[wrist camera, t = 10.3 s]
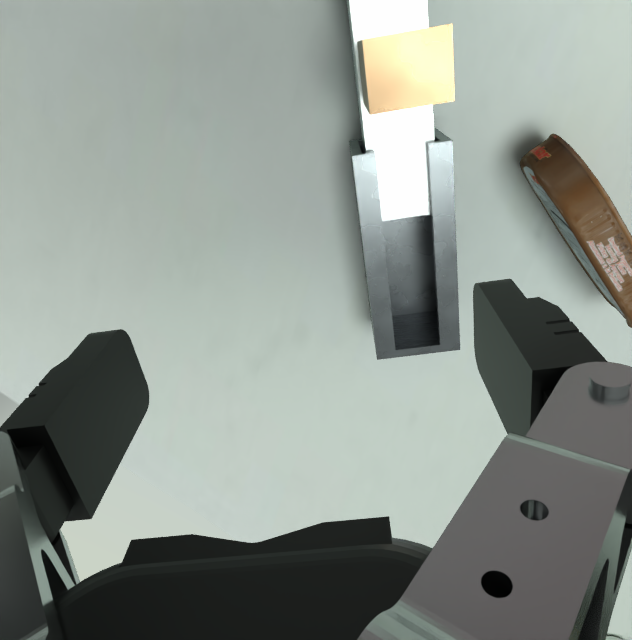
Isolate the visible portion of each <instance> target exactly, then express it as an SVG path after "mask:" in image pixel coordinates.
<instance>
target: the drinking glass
mask: <svg viewBox="0 0 632 640" xmlns="http://www.w3.org/2000/svg"><path fill="white" fill-rule="evenodd" d="M606 640H622V639H620V638H618V637H614V636H606Z"/></svg>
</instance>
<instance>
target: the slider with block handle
mask: <svg viewBox="0 0 632 640" xmlns="http://www.w3.org/2000/svg"><path fill="white" fill-rule="evenodd" d="M347 8H348V17H349V26H350V34H351V43H352V52H353V61H354V70H355V79H356V88H357V97H358V105H359V114H360V123H361V132H362V141H363V150H364V153H365V152H371V151H375V155H376V165H377V175H378V185H379V194H380V204H381V214H382V221H387V220H394V219H401V218H408V217H415V216H422V215H429V214H431V202H430V185H429V168H428V151H427V143H428V142H434V122H433V105H434V104H440V103H446V102H452V101H455V87H454V57H453V27H452V24H447V25H441V26H436V27H430V28H429V26H428V7H427V0H347Z"/></svg>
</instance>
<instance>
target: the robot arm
mask: <svg viewBox="0 0 632 640" xmlns="http://www.w3.org/2000/svg"><path fill="white" fill-rule="evenodd" d="M473 309H474V348H475V357H476V362H477V366H478V370H479V373H480V375H481V377H482V379H483V382H484V384H485V386H486V388H487V390H488V392H489V395H490V397H491V399H492V401H493V403H494V405H495V408H496V410H497V412H498V414H499V416H500V418H501V421H502V423H503V425H504V427H505V429H506V432H507V434H508V435H507V436H506V437H505V438H504V439H503V441H502V442H501V444H500V445H499V447H498V449H497V450H496V452H495V453H494V455H493V456H492V458H491V459H490V461H489V462H488V464H487V466H486V467H485V469H484V470H483V472H482V473H481V475H480V476H479V478H478V479H477V481H476V483H475V484H474V486H473V487H472V489H471V490H470V492H469V493H468V495H467V496H466V498H465V500H464V501H463V503H462V504H461V506H460V507H459V509H458V510H457V512H456V513H455V515H454V517H453V518H452V520H451V521H450V523H449V524H448V526H447V527H446V529H445V530H444V532H443V534H442V535H441V537H440V538H439V540H438V541H437V543H436V544H435V546H434V547H433V548H430V547H428V546H425V545H422V544H419V543H415V542H411V541H408V540H403V539H397V538H392V536H391V528H390V521H389V517H379V518H368V519H357V520H346V521H335V522H324V523H320V524H317V525H314V526H310V527H307V528H304V529H301V530H297V531H294V532H291V533H288V534H284V535H281V536H278V537H275V538H272V539H268V540H265V541H262V542H257V543H246V542H240V541H233V540H226V539H220V538H213V537H206V536H199V535H193V534H191V535H181V536H169V537H158V538H147V539H136V540H131V542H130V545H129V547H128V549H127V552H126V554H125V557H124V559H123V562H122V563H119V564H117V565H114V566H111V567H109V568H107V569H104V570H102V571H100V572H98V573H96V574H94V575H92V576H90V577H88V578H87V579H84V580H83V581H81V582H80V580H79V577H78V574H77V571H76V568H75V565H74V563H73V559H72V556H71V554H70V551H69V548H68V545H67V542H66V540H65V538H64V536H63V534H62V532H61V530H60V528H61V527H62V525H63V523H64V521H75V520H85V519H91V518H92V517H93V515H94V513H95V511H96V509H97V507H98V505H99V503H100V501H101V499H102V497H103V495H104V493H105V491H106V489H107V487H108V486H109V484H110V482H111V480H112V478H113V476H114V474H115V472H116V470H117V468H118V466H119V464H120V462H121V460H122V458H123V456H124V454H125V452H126V451H127V449H128V447H129V445H130V443H131V441H132V439H133V437H134V435H135V433H136V431H137V429H138V427H139V425H140V423H141V421H142V419H143V417H144V415H145V414H146V412H147V409H148V405H149V390H148V385H147V382H146V380H145V377H144V374H143V372H142V369H141V366H140V363H139V361H138V358H137V355H136V353H135V350H134V347H133V345H132V342H131V339H130V337H129V335H128V334H127V333H126V332H125V331H124V330H122V329H120V330H112V331H105V332H97V333H90V334H88V335H87V336H86V337H85V339H84V340H83V341H82V342H81V343H80V344H79V346H78V347H77V348H76V349H75V350H74V351H73V353H72V354H71V355H70V356H69V357H68V358H67V359H66V360H64V361H63V362H61V363H60V364H58V365H57V366H56V367H54V368H53V369H51V370H50V371H49V373H48V374H47V375H46V376H45V377H44V378H43V379H42V380H41V382H40V383H39V386H36V387H35V388H34V390H33V391H32V392H31V393H30V394H29V398H26V399H25V400H24V401H23V402H22V403H21V404H20V405H19V407H18V408H17V409H16V410H15V411H14V412H13V413H12V415H11V416H10V417H9V418H8V419H7V420H6V421H5V422H4V424H3V425H2V426H1V427H0V640H606V635H607V631H608V627H609V623H610V619H611V615H612V611H613V608H614V605H615V601H616V598H617V595H618V592H619V588H620V585H621V582H622V578H623V575H624V572H625V569H626V565H627V562H628V559H629V556H630V552H631V549H632V367H630V366H627V365H623V364H618V363H612V362H607V361H606V360H605V358H604V357H603V356H602V355H601V354H600V353H599V352H598V351H597V349H596V348H595V347H594V346H593V345H592V344H591V343H590V342H589V340H588V339H587V338H586V337H585V336H584V335H583V334H582V333H581V332H579V329H578V328H577V327H576V326H575V325H574V324H573V322H570V320H569V318H568V317H567V316H566V315H565V313H564V312H563V311H562V310H561V309H560V308H559V307H558V306H556V305H554V304H552V303H550V302H548V301H546V300H544V299H542V298H540V297H536V298H528V299H527V298H526V297H525V296H524V295H523V293H522V292H521V291H520V289H519V288H518V287H517V286H516V284H515V283H514V282H513V281H512V280H511V279H504V280H497V281H489V282H482V283H476V284H475V285H474V290H473Z"/></svg>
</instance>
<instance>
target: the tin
mask: <svg viewBox="0 0 632 640" xmlns="http://www.w3.org/2000/svg"><path fill="white" fill-rule="evenodd" d="M520 166H521V169H522V171H523V173H524V175H525V177H526V179H527V181H528V182H529V184H530V185H531V187H532V189H533V191H534V192H535V194H536V195H537V197H538V199H539V200H540V202H541V203H542V205H543V207H544V208H545V210H546V212H547V213H548V215H549V216H550V218H551V220H552V221H553V223H554V225H555V226H556V228H557V229H558V231H559V233H560V234H561V236H562V237H563V239H564V240H565V242H566V243H567V245H568V247H569V248H570V250H571V251H572V253H573V254H574V256H575V257H576V259H577V260H578V262H579V263H580V265H581V266H582V267H583V269H584V270H585V272H586V273H587V275H588V276H589V278H590V279H591V280H592V282H593V283H594V285H595V286H596V287H597V289H598V290H599V291H600V293H601V294H602V295H603V297H604V298H605V299H606V300H607V301H608V302H609V303H610V304H611V305H612V306H613V307H615V308H616V309H617V310H618V311H619V312H620V313H621V315H622V316H623V317H624V318H625V319H626V322H627V324H628V326H629V327H631V328H632V236H631V234H630V232H629V231H628V229H627V227H626V225H625V224H624V222H623V220H622V218H621V216H620V215H619V213H618V211H617V209H616V208H615V206H614V204H613V202H612V201H611V199H610V197H609V196H608V194H607V193H606V191H605V190H604V188H603V187H602V185H601V184H600V182H599V181H598V179H597V178H596V177H595V176H594V174H593V173H592V172H591V170H590V169H589V168H588V166H587V165H586V163H585V162H584V161H583V160H582V159H581V157H580V156H579V155H578V154H577V153H576V152H575V151H574V149H573V148H572V147H571V146H570V145H569V144H568V143H567V142H566V141H564V140H563V139H562V138H561V137H559V136H558V135H556V134H551V135H550V136H549V138H548V139H547V140H545V141H544V142H542V143H541V144H539V145H538V146H537V147H535V148H534V149H532V150H531V151H529V152H528V153H527V154H526V155H524V156H523V157H522V159H521V161H520Z"/></svg>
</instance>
